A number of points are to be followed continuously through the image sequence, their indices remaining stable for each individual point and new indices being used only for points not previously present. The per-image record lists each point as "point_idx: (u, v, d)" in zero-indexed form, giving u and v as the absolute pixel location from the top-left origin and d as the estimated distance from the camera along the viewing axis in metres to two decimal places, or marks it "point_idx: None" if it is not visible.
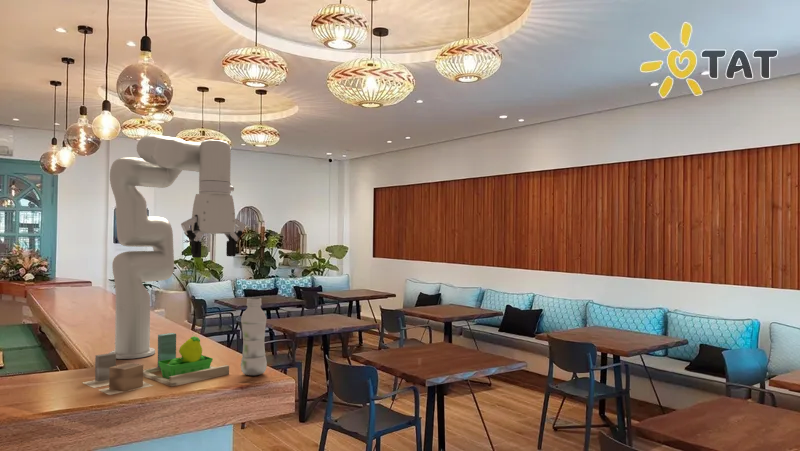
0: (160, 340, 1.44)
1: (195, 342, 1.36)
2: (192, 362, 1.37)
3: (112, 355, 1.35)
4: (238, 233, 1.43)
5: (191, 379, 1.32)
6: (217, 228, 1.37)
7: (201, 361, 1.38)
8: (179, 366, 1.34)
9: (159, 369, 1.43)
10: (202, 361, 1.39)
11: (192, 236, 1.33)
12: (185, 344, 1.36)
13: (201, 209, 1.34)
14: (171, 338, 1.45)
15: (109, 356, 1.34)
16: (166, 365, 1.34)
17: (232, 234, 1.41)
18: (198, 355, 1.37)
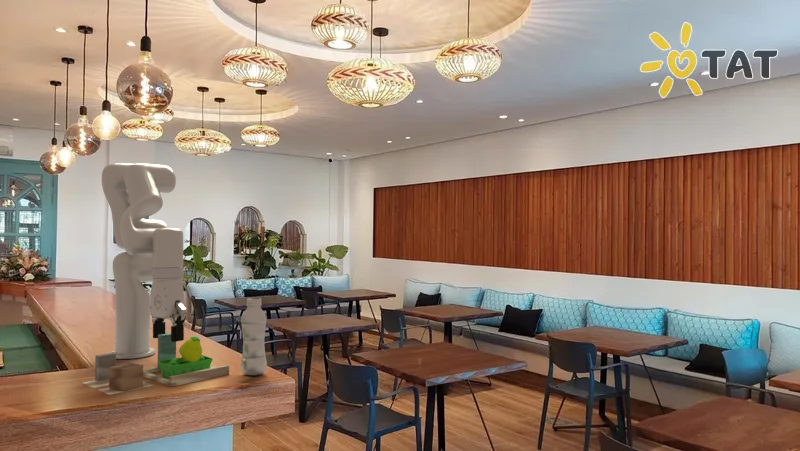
0: (160, 340, 1.44)
1: (195, 342, 1.36)
2: (192, 362, 1.37)
3: (112, 355, 1.35)
4: None
5: (191, 379, 1.32)
6: None
7: (201, 361, 1.38)
8: (179, 366, 1.34)
9: (159, 369, 1.43)
10: (202, 361, 1.39)
11: None
12: (185, 344, 1.36)
13: (183, 294, 1.44)
14: None
15: (109, 356, 1.34)
16: (166, 365, 1.34)
17: None
18: (198, 355, 1.37)
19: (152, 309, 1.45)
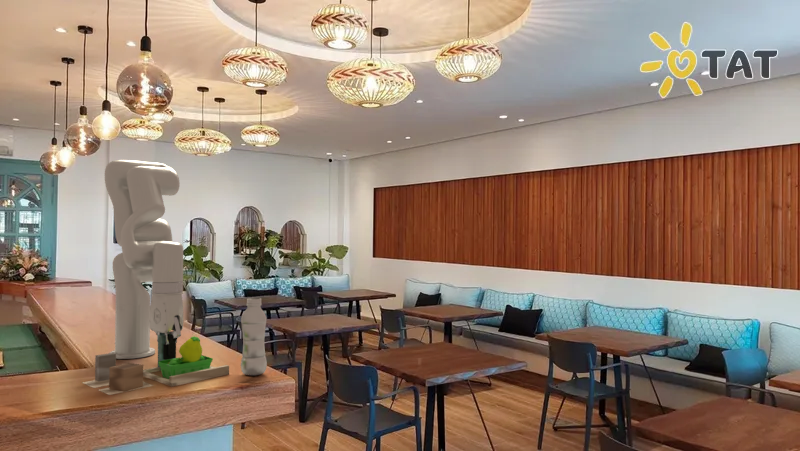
0: (160, 340, 1.44)
1: (195, 342, 1.36)
2: (192, 362, 1.37)
3: (112, 355, 1.35)
4: None
5: (191, 379, 1.32)
6: None
7: (201, 361, 1.38)
8: (179, 366, 1.34)
9: (159, 369, 1.43)
10: (202, 361, 1.39)
11: None
12: (185, 344, 1.36)
13: (182, 309, 1.44)
14: None
15: (109, 356, 1.34)
16: (166, 365, 1.34)
17: None
18: (198, 355, 1.37)
19: (151, 323, 1.45)
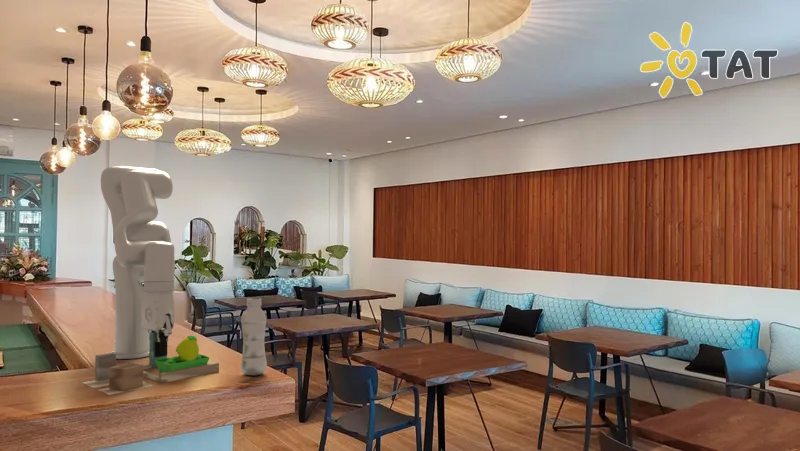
0: (151, 338, 1.47)
1: (192, 341, 1.37)
2: (189, 360, 1.38)
3: (112, 355, 1.35)
4: None
5: (181, 376, 1.35)
6: None
7: (198, 360, 1.39)
8: (176, 365, 1.35)
9: (150, 366, 1.46)
10: (199, 360, 1.40)
11: None
12: (182, 343, 1.37)
13: (173, 308, 1.47)
14: None
15: (109, 356, 1.34)
16: (163, 364, 1.35)
17: None
18: (195, 354, 1.38)
19: (143, 321, 1.48)
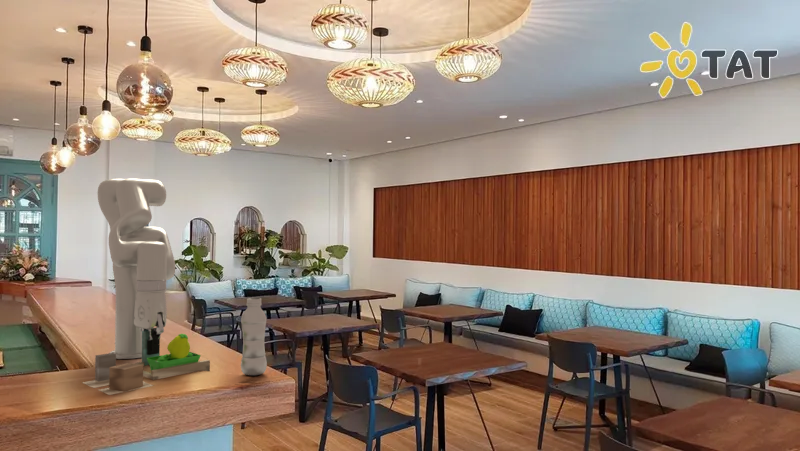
0: (144, 336, 1.50)
1: (183, 339, 1.40)
2: (180, 358, 1.40)
3: (112, 355, 1.35)
4: None
5: (172, 373, 1.38)
6: None
7: (189, 358, 1.42)
8: (167, 362, 1.38)
9: (143, 364, 1.49)
10: (190, 358, 1.42)
11: None
12: (173, 341, 1.40)
13: (165, 306, 1.50)
14: None
15: (109, 356, 1.34)
16: (154, 361, 1.38)
17: None
18: (186, 352, 1.41)
19: (136, 319, 1.51)
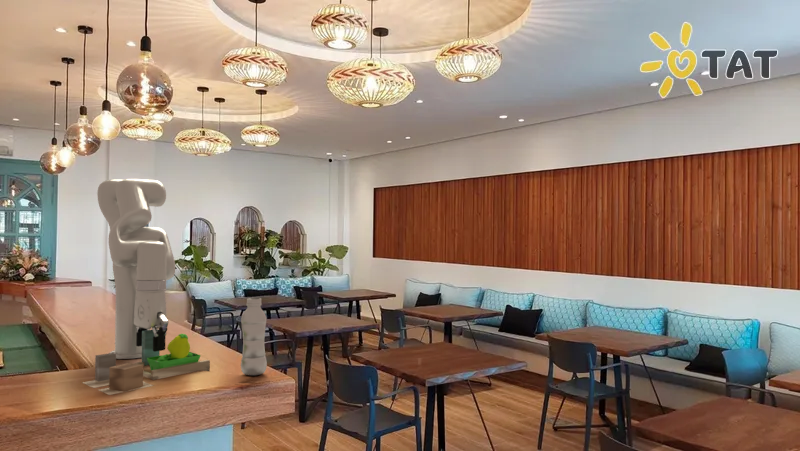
0: (144, 336, 1.50)
1: (183, 339, 1.40)
2: (180, 358, 1.40)
3: (112, 355, 1.35)
4: None
5: (172, 373, 1.38)
6: None
7: (189, 358, 1.42)
8: (167, 362, 1.38)
9: (143, 364, 1.49)
10: (190, 358, 1.42)
11: None
12: (173, 341, 1.40)
13: (165, 306, 1.50)
14: None
15: (109, 356, 1.34)
16: (154, 361, 1.38)
17: None
18: (186, 352, 1.41)
19: (135, 319, 1.51)
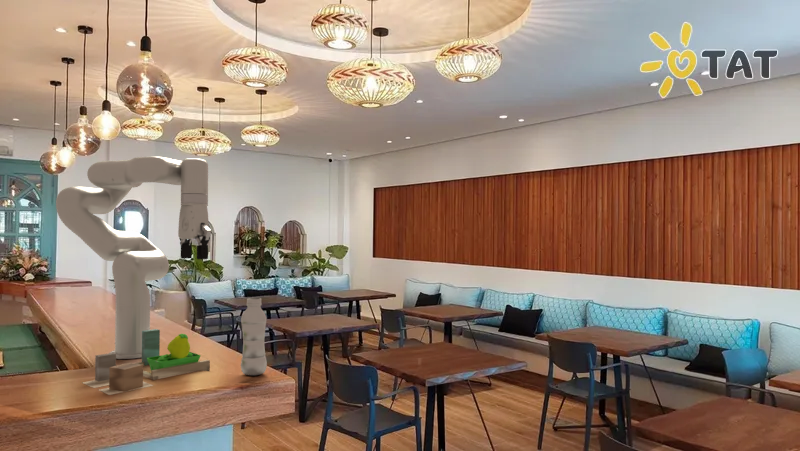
0: (144, 336, 1.50)
1: (183, 339, 1.40)
2: (180, 358, 1.40)
3: (112, 355, 1.35)
4: None
5: (172, 373, 1.38)
6: None
7: (189, 358, 1.42)
8: (167, 362, 1.38)
9: (143, 364, 1.49)
10: (190, 358, 1.42)
11: None
12: (173, 341, 1.40)
13: (207, 218, 1.60)
14: (154, 334, 1.51)
15: (109, 356, 1.34)
16: (154, 361, 1.38)
17: None
18: (186, 352, 1.41)
19: (180, 231, 1.62)
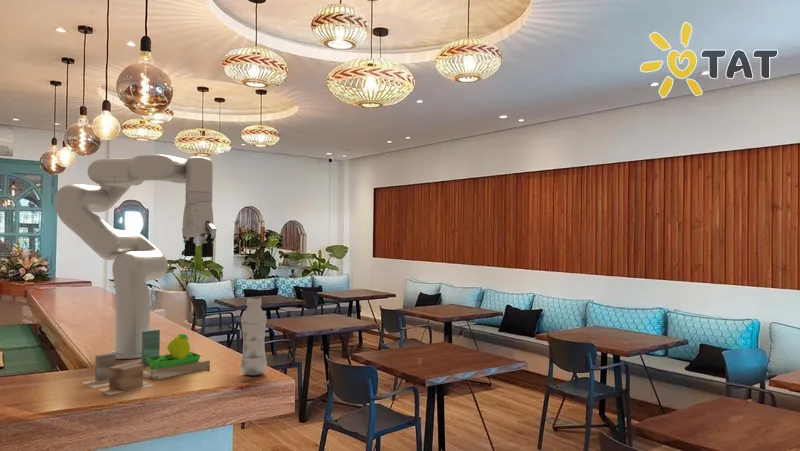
0: (144, 336, 1.50)
1: (183, 339, 1.40)
2: (180, 358, 1.40)
3: (112, 355, 1.35)
4: None
5: (172, 373, 1.38)
6: None
7: (189, 358, 1.42)
8: (167, 362, 1.38)
9: (143, 364, 1.49)
10: (190, 358, 1.42)
11: None
12: (173, 341, 1.40)
13: (212, 216, 1.61)
14: (154, 334, 1.51)
15: (109, 356, 1.34)
16: (154, 361, 1.38)
17: None
18: (186, 352, 1.41)
19: (184, 229, 1.62)
